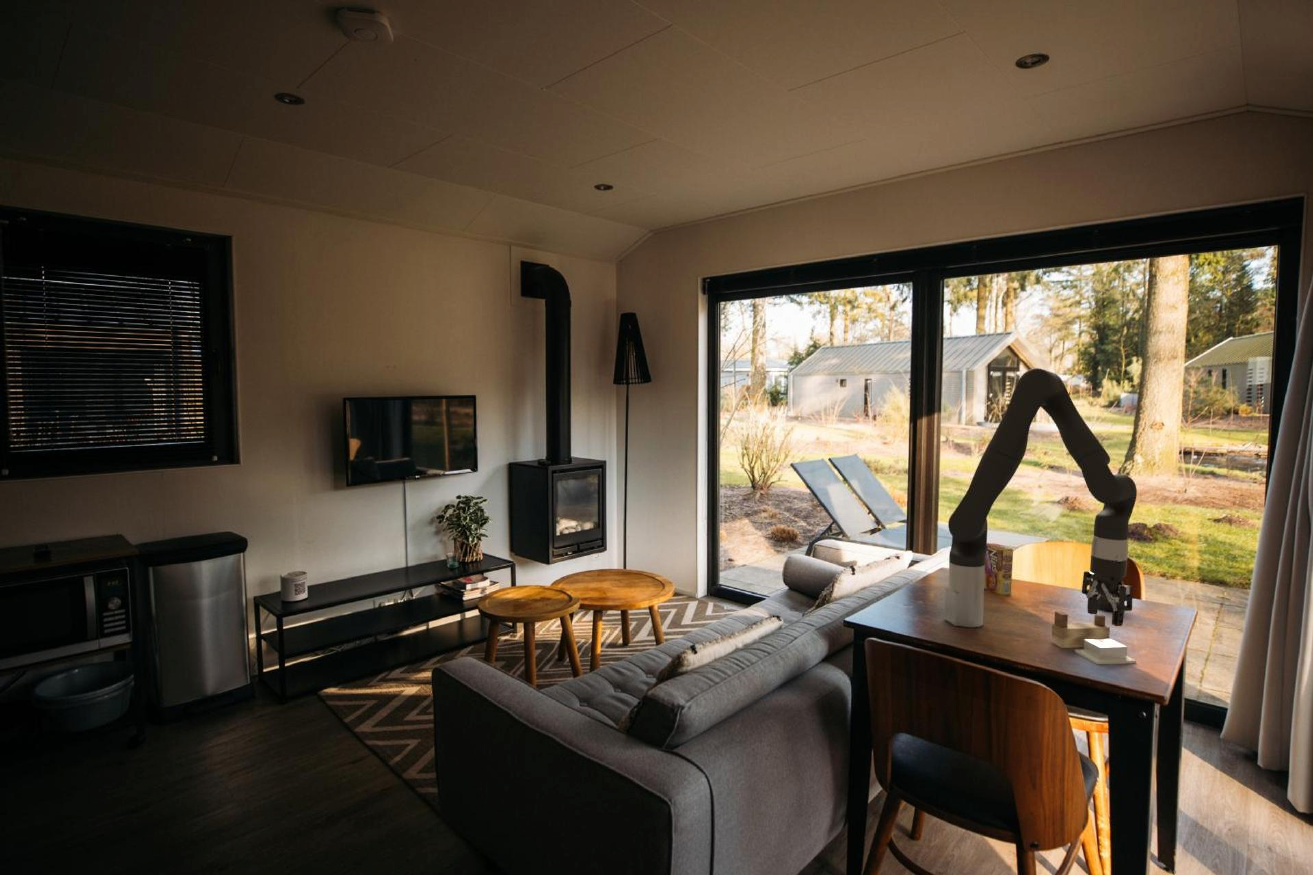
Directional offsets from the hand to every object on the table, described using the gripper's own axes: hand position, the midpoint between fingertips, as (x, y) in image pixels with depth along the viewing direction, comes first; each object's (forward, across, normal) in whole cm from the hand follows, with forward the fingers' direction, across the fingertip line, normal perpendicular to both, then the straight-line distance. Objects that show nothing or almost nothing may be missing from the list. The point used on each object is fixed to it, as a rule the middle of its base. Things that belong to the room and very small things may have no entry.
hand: (1104, 619), depth 172 cm
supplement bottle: (+10, -36, +29) cm, 48 cm away
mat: (+10, 0, +1) cm, 10 cm away
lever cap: (+9, 0, +1) cm, 9 cm away
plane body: (+10, -9, +1) cm, 13 cm away
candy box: (+11, -57, +6) cm, 58 cm away
